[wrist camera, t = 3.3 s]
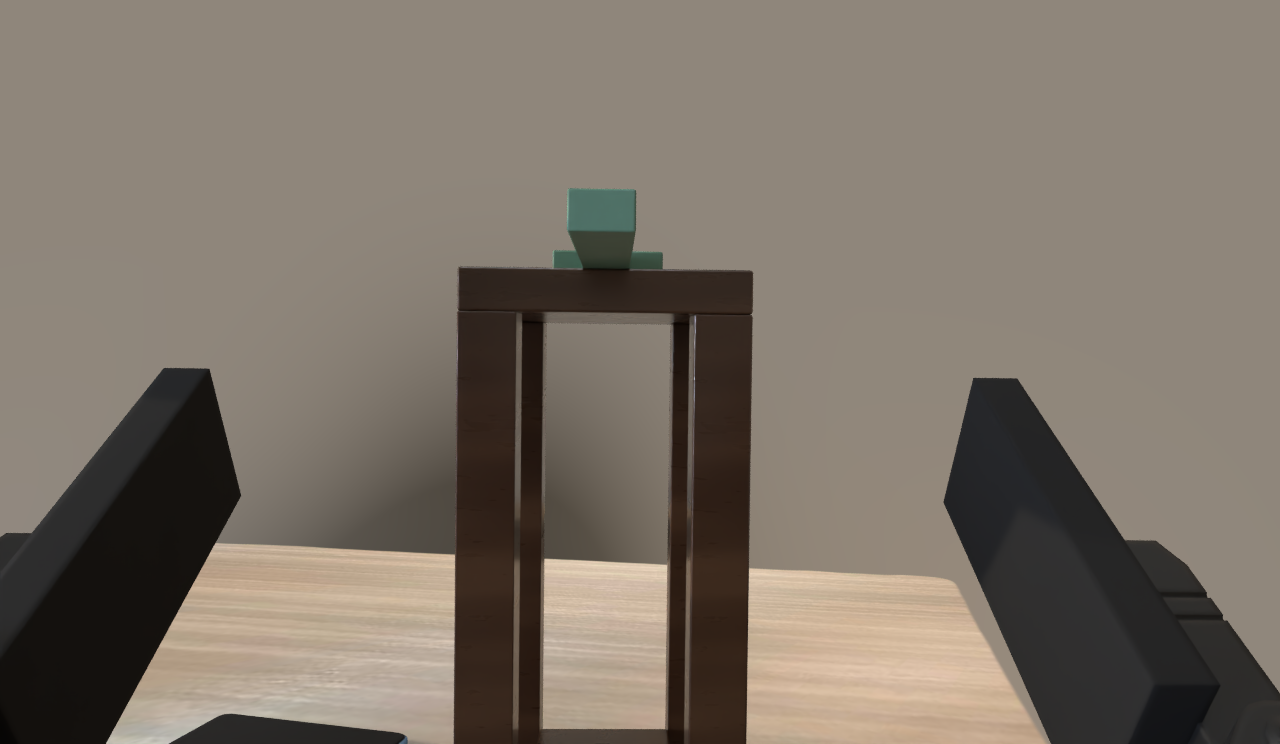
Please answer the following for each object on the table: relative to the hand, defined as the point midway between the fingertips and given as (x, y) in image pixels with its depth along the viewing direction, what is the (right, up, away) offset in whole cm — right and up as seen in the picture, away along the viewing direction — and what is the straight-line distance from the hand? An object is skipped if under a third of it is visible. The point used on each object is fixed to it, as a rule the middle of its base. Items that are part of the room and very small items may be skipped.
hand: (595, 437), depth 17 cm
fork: (0, +5, +16) cm, 17 cm away
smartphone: (-23, -24, +46) cm, 57 cm away
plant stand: (-1, -25, +23) cm, 34 cm away
